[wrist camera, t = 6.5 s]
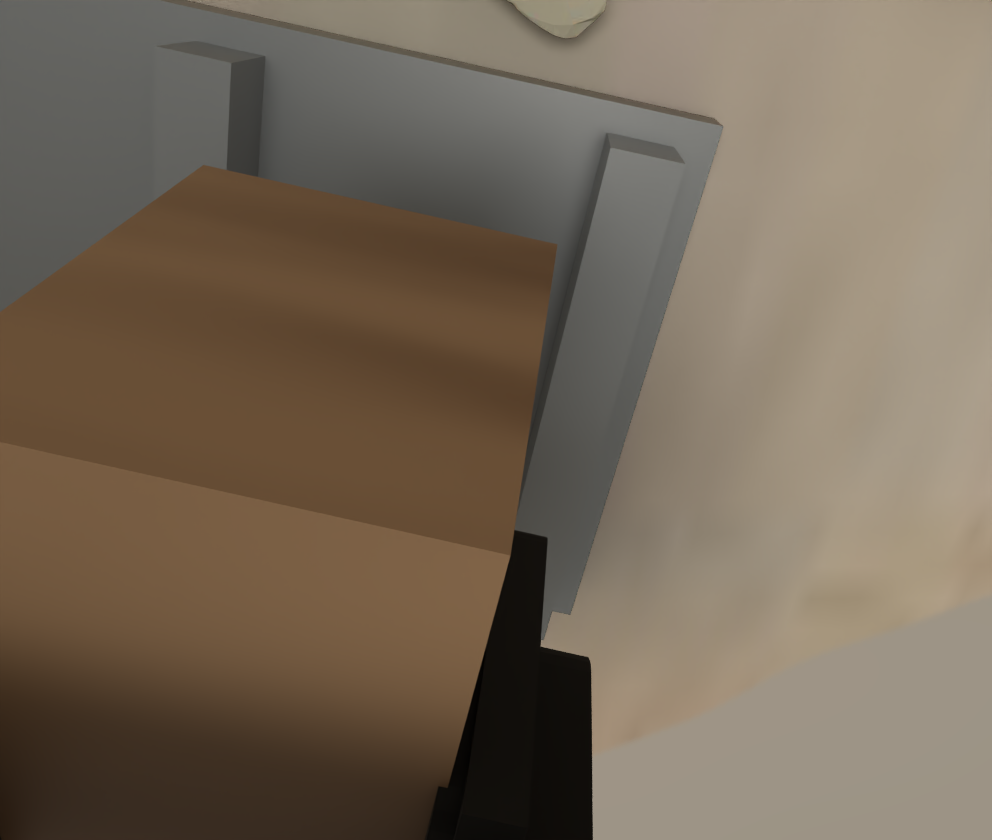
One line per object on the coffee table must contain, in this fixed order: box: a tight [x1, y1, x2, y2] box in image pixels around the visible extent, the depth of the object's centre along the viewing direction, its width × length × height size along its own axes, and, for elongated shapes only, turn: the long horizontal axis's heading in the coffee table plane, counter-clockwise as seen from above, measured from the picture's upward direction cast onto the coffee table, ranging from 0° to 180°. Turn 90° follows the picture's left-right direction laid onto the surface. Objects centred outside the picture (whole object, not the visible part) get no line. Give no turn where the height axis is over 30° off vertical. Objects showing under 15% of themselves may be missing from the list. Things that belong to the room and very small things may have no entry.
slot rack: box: [0, 0, 723, 640], centre depth 16 cm, size 17×11×3 cm, turn 79°
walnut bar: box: [0, 165, 558, 840], centre depth 9 cm, size 8×4×5 cm, turn 169°
